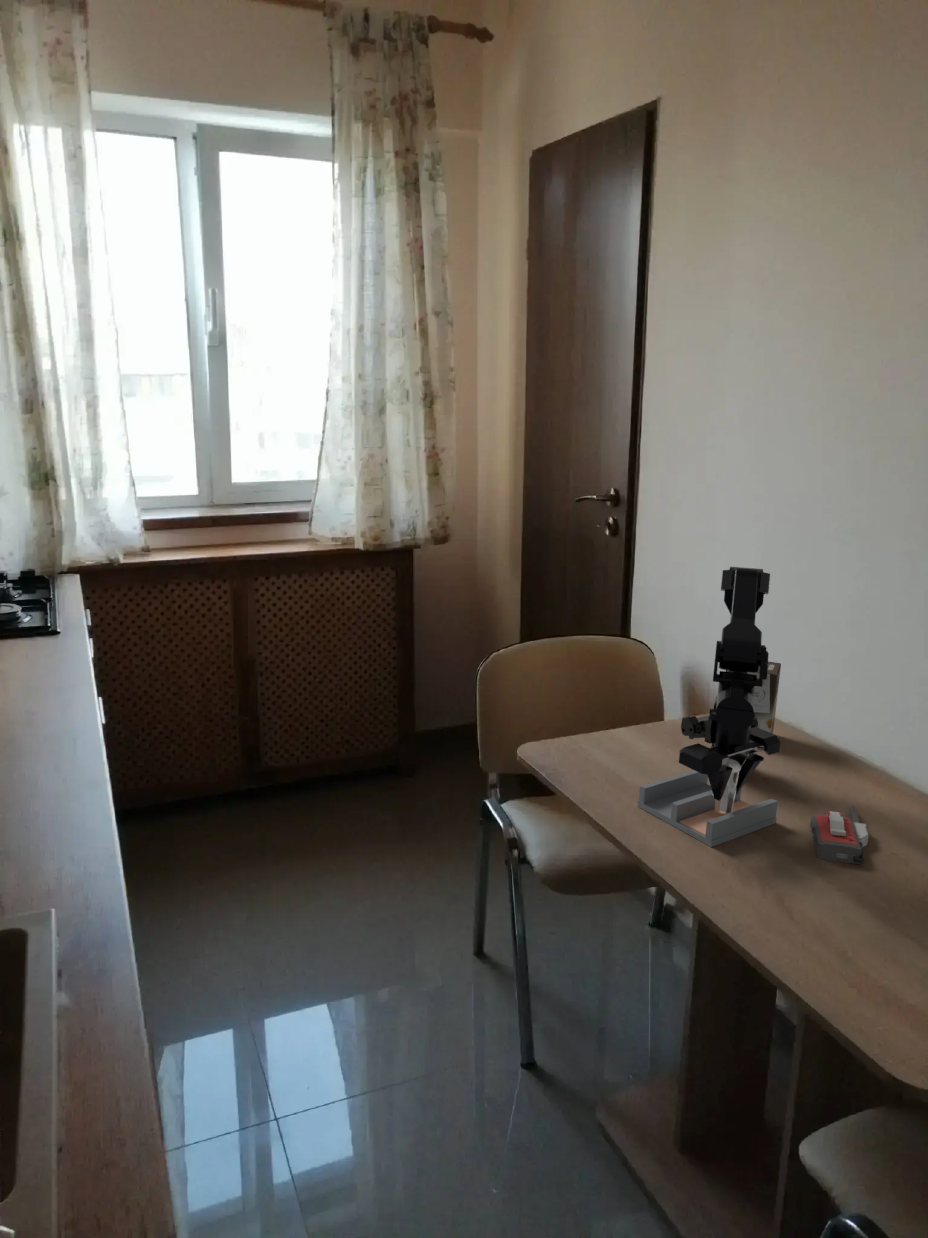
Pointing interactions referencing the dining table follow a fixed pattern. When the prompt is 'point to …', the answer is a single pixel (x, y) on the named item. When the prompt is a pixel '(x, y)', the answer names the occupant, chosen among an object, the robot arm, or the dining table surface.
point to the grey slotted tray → (702, 809)
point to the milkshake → (728, 789)
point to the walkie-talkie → (839, 836)
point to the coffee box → (767, 698)
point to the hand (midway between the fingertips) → (725, 796)
